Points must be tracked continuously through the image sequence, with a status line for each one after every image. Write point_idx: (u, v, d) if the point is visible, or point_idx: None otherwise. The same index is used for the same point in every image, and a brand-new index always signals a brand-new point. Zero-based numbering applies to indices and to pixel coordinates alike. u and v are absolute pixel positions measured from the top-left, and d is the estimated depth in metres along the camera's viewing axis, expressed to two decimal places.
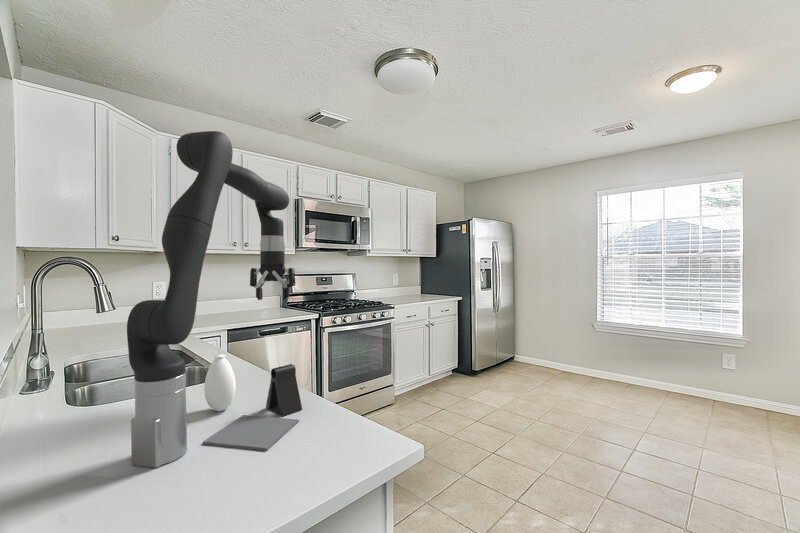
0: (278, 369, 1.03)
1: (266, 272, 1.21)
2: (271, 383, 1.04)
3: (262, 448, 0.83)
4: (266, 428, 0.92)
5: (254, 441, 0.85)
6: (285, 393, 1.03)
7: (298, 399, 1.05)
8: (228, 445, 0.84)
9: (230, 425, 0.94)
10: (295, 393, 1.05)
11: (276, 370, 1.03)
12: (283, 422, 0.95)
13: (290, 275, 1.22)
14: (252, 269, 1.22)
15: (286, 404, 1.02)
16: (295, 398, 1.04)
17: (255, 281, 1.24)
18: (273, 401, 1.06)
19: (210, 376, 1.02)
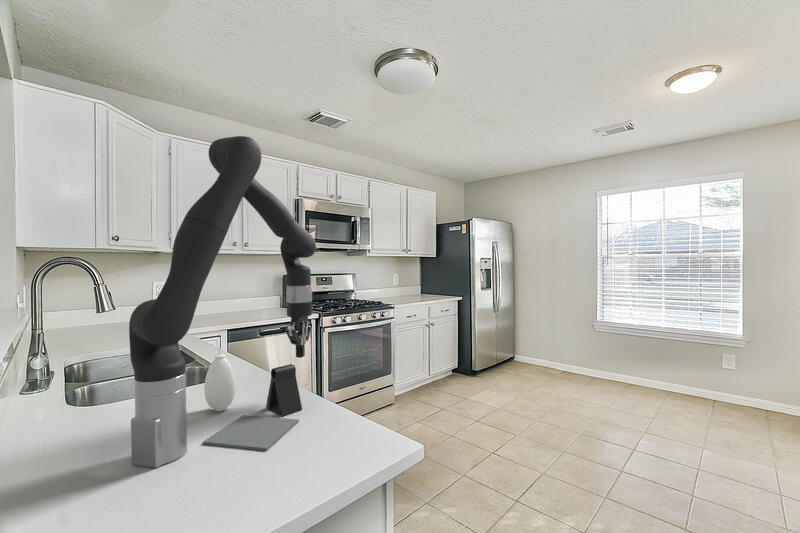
0: (278, 369, 1.03)
1: (303, 324, 1.13)
2: (271, 383, 1.04)
3: (262, 448, 0.83)
4: (266, 428, 0.92)
5: (254, 441, 0.85)
6: (285, 393, 1.03)
7: (298, 399, 1.05)
8: (228, 445, 0.84)
9: (230, 425, 0.94)
10: (295, 393, 1.05)
11: (276, 370, 1.03)
12: (283, 422, 0.95)
13: (310, 330, 1.19)
14: (294, 331, 1.09)
15: (286, 404, 1.02)
16: (295, 398, 1.04)
17: None
18: (273, 401, 1.06)
19: (210, 376, 1.02)
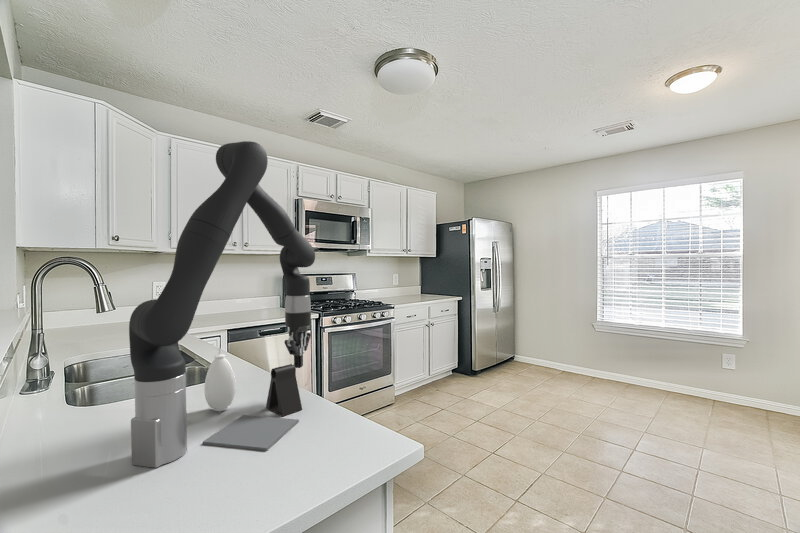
0: (278, 369, 1.03)
1: (302, 334, 1.13)
2: (271, 383, 1.04)
3: (262, 448, 0.83)
4: (266, 428, 0.92)
5: (254, 441, 0.85)
6: (285, 393, 1.03)
7: (298, 399, 1.05)
8: (228, 445, 0.84)
9: (230, 425, 0.94)
10: (295, 393, 1.05)
11: (276, 370, 1.03)
12: (283, 422, 0.95)
13: (308, 340, 1.19)
14: (293, 341, 1.09)
15: (286, 404, 1.02)
16: (295, 398, 1.04)
17: (291, 349, 1.12)
18: (273, 401, 1.06)
19: (210, 376, 1.02)
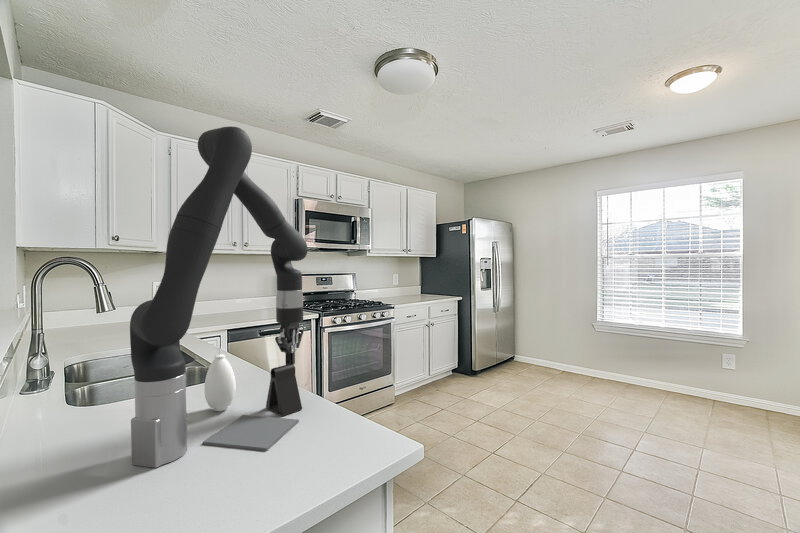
0: (278, 369, 1.03)
1: (294, 331, 1.08)
2: (271, 383, 1.04)
3: (262, 448, 0.83)
4: (266, 428, 0.92)
5: (254, 441, 0.85)
6: (285, 393, 1.03)
7: (298, 399, 1.05)
8: (228, 445, 0.84)
9: (230, 425, 0.94)
10: (295, 393, 1.05)
11: (276, 370, 1.02)
12: (283, 422, 0.95)
13: (301, 336, 1.14)
14: (284, 338, 1.04)
15: (286, 404, 1.02)
16: (294, 397, 1.04)
17: (282, 346, 1.07)
18: (273, 401, 1.05)
19: (210, 376, 1.02)
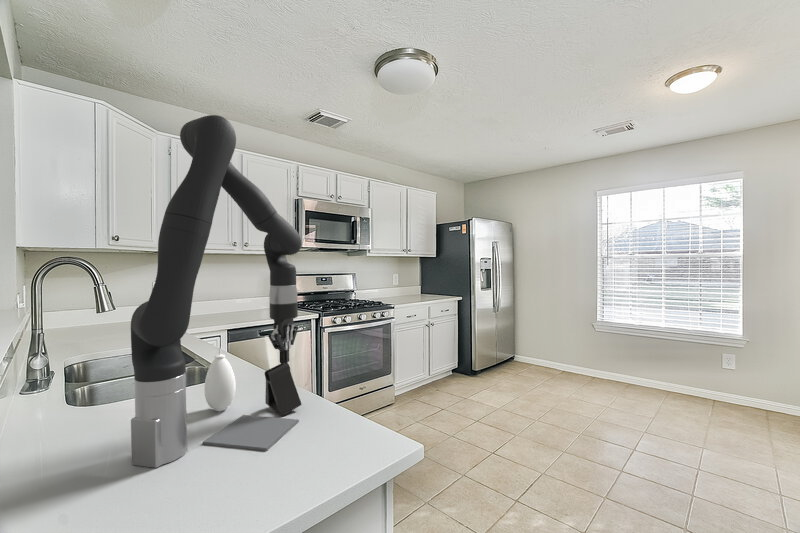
0: (271, 372, 1.00)
1: (288, 327, 1.04)
2: (266, 384, 1.02)
3: (262, 448, 0.83)
4: (266, 428, 0.92)
5: (254, 441, 0.85)
6: (282, 393, 1.01)
7: (296, 396, 1.04)
8: (228, 445, 0.84)
9: (230, 425, 0.94)
10: (292, 391, 1.03)
11: (269, 373, 0.99)
12: (283, 422, 0.95)
13: (295, 333, 1.10)
14: (277, 335, 1.00)
15: (284, 404, 1.01)
16: (292, 395, 1.03)
17: (276, 343, 1.03)
18: (271, 398, 1.05)
19: (210, 376, 1.02)
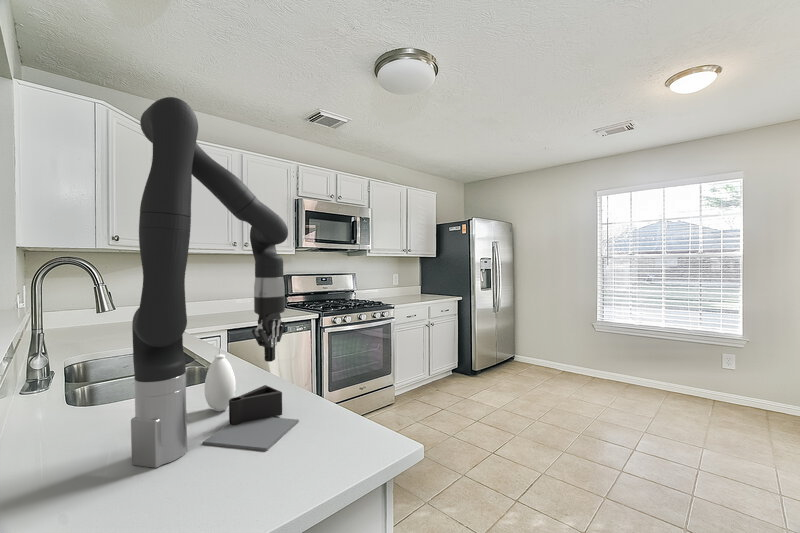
0: (232, 421, 0.94)
1: (273, 323, 0.97)
2: None
3: (262, 448, 0.83)
4: (266, 428, 0.92)
5: (254, 441, 0.85)
6: (260, 411, 0.97)
7: (270, 396, 0.99)
8: (228, 445, 0.84)
9: (230, 425, 0.94)
10: (263, 400, 0.98)
11: (233, 423, 0.94)
12: (283, 422, 0.95)
13: (282, 329, 1.03)
14: (262, 330, 0.93)
15: (272, 410, 0.99)
16: (268, 400, 0.98)
17: None
18: None
19: (210, 376, 1.02)
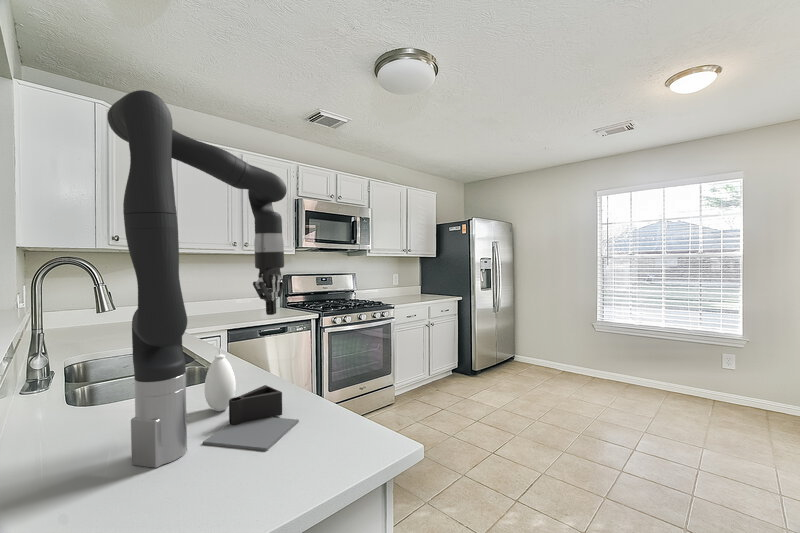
0: (232, 421, 0.94)
1: (274, 277, 1.01)
2: None
3: (262, 448, 0.83)
4: (266, 428, 0.92)
5: (254, 441, 0.85)
6: (260, 411, 0.97)
7: (270, 396, 0.99)
8: (228, 445, 0.84)
9: (230, 425, 0.94)
10: (263, 400, 0.98)
11: (233, 423, 0.94)
12: (283, 422, 0.95)
13: (283, 286, 1.07)
14: (262, 283, 0.97)
15: (272, 410, 0.99)
16: (268, 400, 0.98)
17: (261, 293, 1.00)
18: None
19: (210, 376, 1.02)
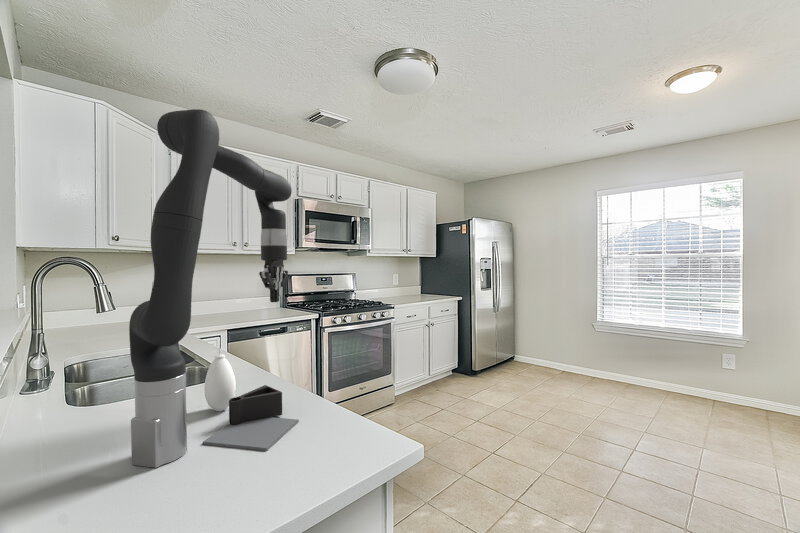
0: (232, 421, 0.94)
1: (278, 268, 1.12)
2: None
3: (262, 448, 0.83)
4: (266, 428, 0.92)
5: (254, 441, 0.85)
6: (260, 411, 0.97)
7: (270, 396, 0.99)
8: (228, 445, 0.84)
9: (230, 425, 0.94)
10: (263, 400, 0.98)
11: (233, 423, 0.94)
12: (283, 422, 0.95)
13: (285, 277, 1.18)
14: (268, 273, 1.08)
15: (272, 410, 0.99)
16: (268, 400, 0.98)
17: (266, 282, 1.11)
18: None
19: (210, 376, 1.02)
